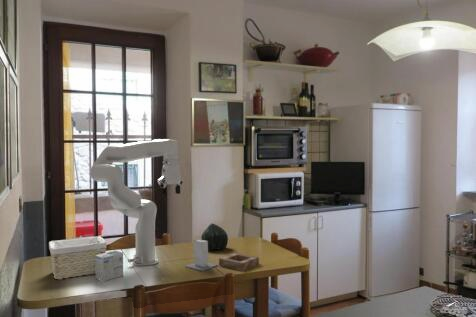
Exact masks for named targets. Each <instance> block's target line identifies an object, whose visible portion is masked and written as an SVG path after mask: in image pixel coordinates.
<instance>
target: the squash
mask: <svg viewBox="0 0 476 317" xmlns="http://www.w3.org/2000/svg"><path fill="white" fill-rule="evenodd" d="M200 238H201V239H200V240H204V241H208V251H214V250H219V251H222V250H225V249H226V248H227V245H228V241H229V236H228V233H227V231H226V230H225V229H223V227H221V226H219V225H217V224H215V223H213V222H212V223H210V224H209V226H208V227H207V228H206V229H205V230H204V231H203V232H202V234H201V237H200Z"/></svg>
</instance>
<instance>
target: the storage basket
mask: <svg viewBox="0 0 476 317" xmlns="http://www.w3.org/2000/svg"><path fill="white" fill-rule="evenodd" d="M107 246H108V245H107V241H106V240H105V239H104V238H103V237H101V236H100V235H99V236H90V237H88V236H87V237H77V238H72V239H71V238H70V239H60V240H51V241H49V242H48V249H49V252H50V259H51V266H52V275H53V274H54V276H53V277H54V278H55V279H58V280H61V279H60V278H65V279H70V278H69V277H74V278H77V277H76V276H78V277H83V276H82V275H86V276H91V275H96V273H95V255H99V254H103V253H107V248H108V247H107ZM90 274H91V275H90ZM55 279H54V280H55Z"/></svg>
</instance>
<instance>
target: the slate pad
mask: <svg viewBox="0 0 476 317" xmlns="http://www.w3.org/2000/svg"><path fill="white" fill-rule="evenodd" d="M218 266H219V264H217V263H211V262H208V266H205V267H200V266H196V265H194V262H193V263H190V264H187V265H185V268H187V269H191V270H195V271H199V272H205V271H207V270H210V269H213V268H215V267H218Z"/></svg>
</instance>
